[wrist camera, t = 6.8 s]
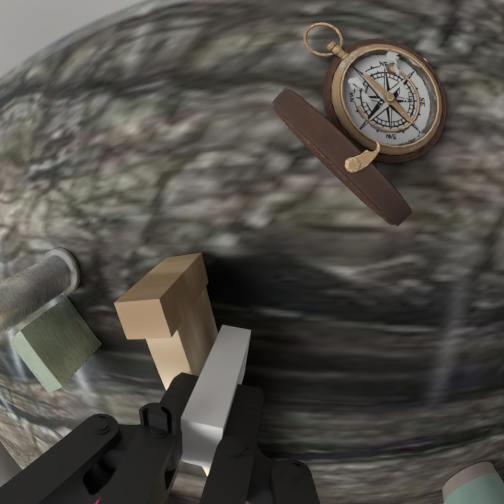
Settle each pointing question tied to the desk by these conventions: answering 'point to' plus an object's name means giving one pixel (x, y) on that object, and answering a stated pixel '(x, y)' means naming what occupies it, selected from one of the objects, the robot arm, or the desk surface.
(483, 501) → the coffee cup
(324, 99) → the compass
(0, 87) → the desk surface
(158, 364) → the gate
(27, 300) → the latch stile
